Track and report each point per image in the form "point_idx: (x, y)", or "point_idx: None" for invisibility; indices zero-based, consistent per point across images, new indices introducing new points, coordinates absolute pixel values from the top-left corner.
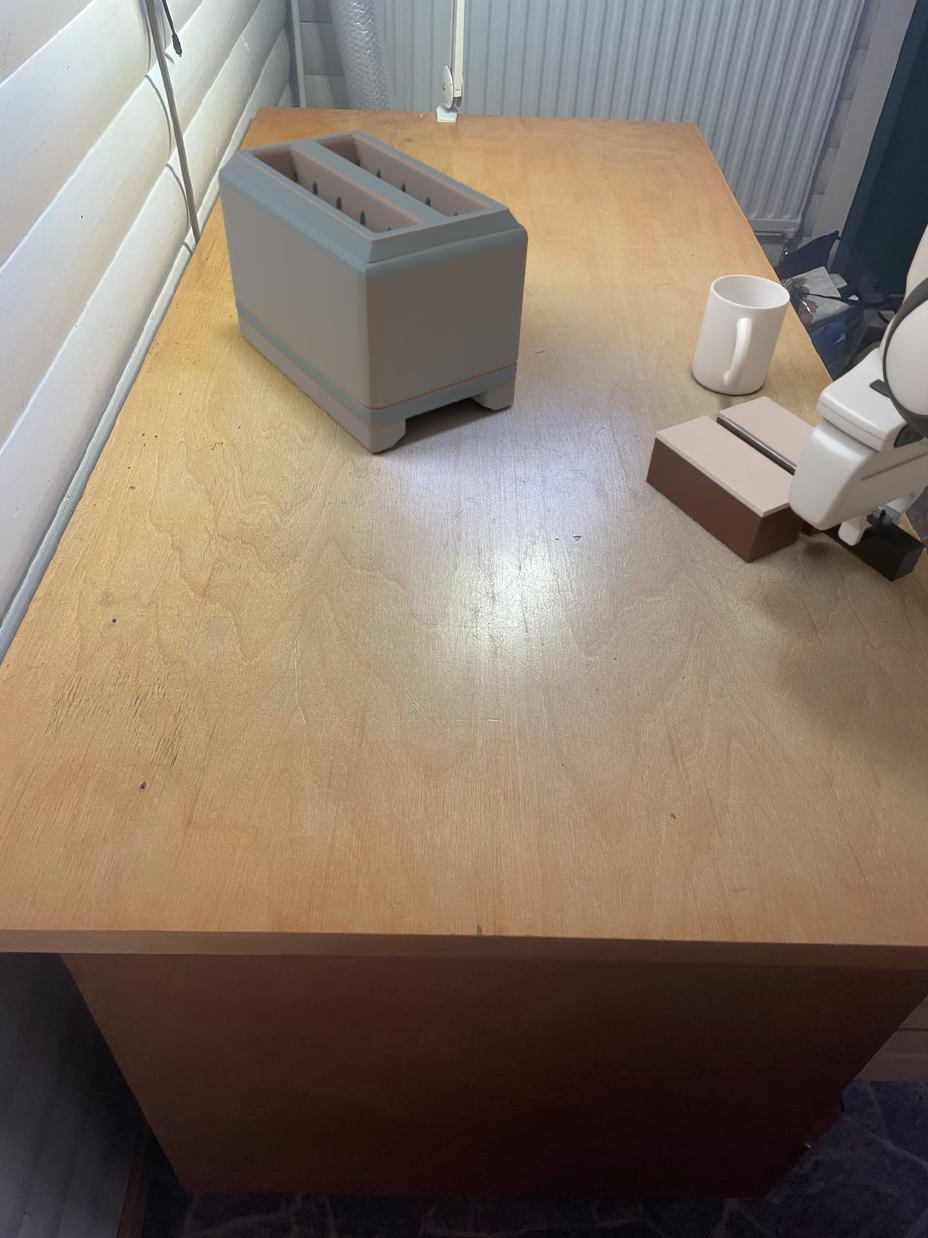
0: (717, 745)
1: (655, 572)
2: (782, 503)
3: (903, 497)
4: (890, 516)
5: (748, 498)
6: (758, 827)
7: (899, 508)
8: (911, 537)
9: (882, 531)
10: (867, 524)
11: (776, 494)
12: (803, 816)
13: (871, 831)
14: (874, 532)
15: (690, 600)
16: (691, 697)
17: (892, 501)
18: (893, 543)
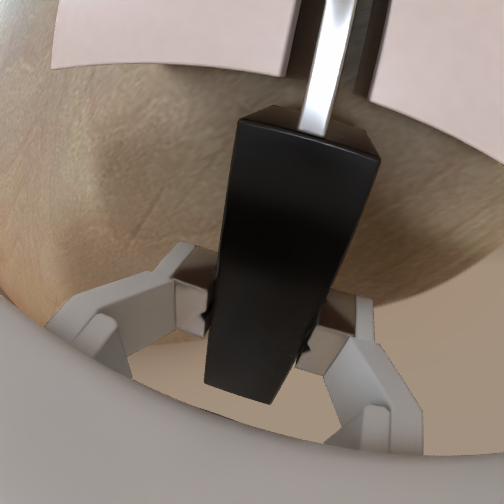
0: (11, 235)
1: (50, 21)
2: (109, 59)
3: (347, 405)
4: (297, 359)
5: (62, 1)
6: (17, 280)
7: (330, 381)
8: (269, 389)
9: (231, 347)
10: (192, 328)
11: (132, 10)
12: (36, 297)
13: None
14: (210, 334)
15: (47, 89)
16: (7, 195)
17: (348, 367)
18: (212, 368)
